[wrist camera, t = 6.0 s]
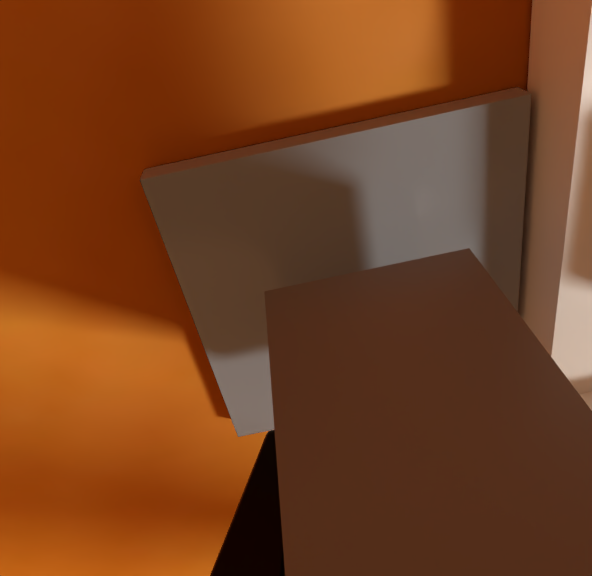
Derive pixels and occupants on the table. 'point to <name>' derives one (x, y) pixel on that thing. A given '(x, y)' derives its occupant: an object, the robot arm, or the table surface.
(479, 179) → the coaster
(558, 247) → the power strip
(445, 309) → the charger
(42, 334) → the table surface
